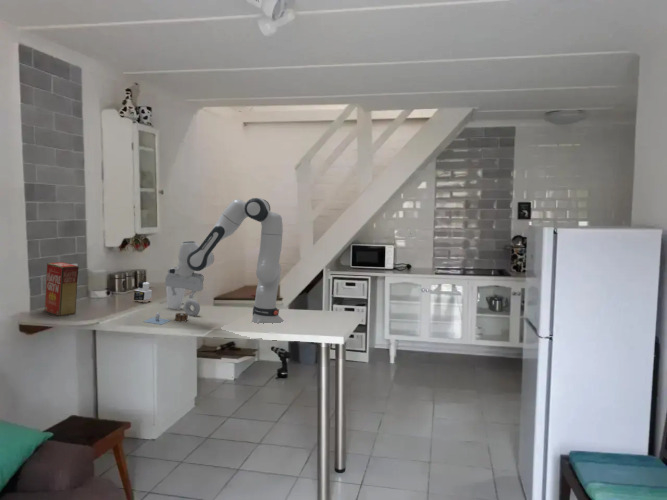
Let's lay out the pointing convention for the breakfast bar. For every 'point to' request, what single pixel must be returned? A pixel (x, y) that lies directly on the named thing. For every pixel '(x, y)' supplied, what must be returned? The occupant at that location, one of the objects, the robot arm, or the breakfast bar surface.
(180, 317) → the ring
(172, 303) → the cup
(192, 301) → the donut
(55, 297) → the food packaging
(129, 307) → the breakfast bar surface
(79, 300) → the breakfast bar surface
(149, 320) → the hub
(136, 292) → the medicine bottle
